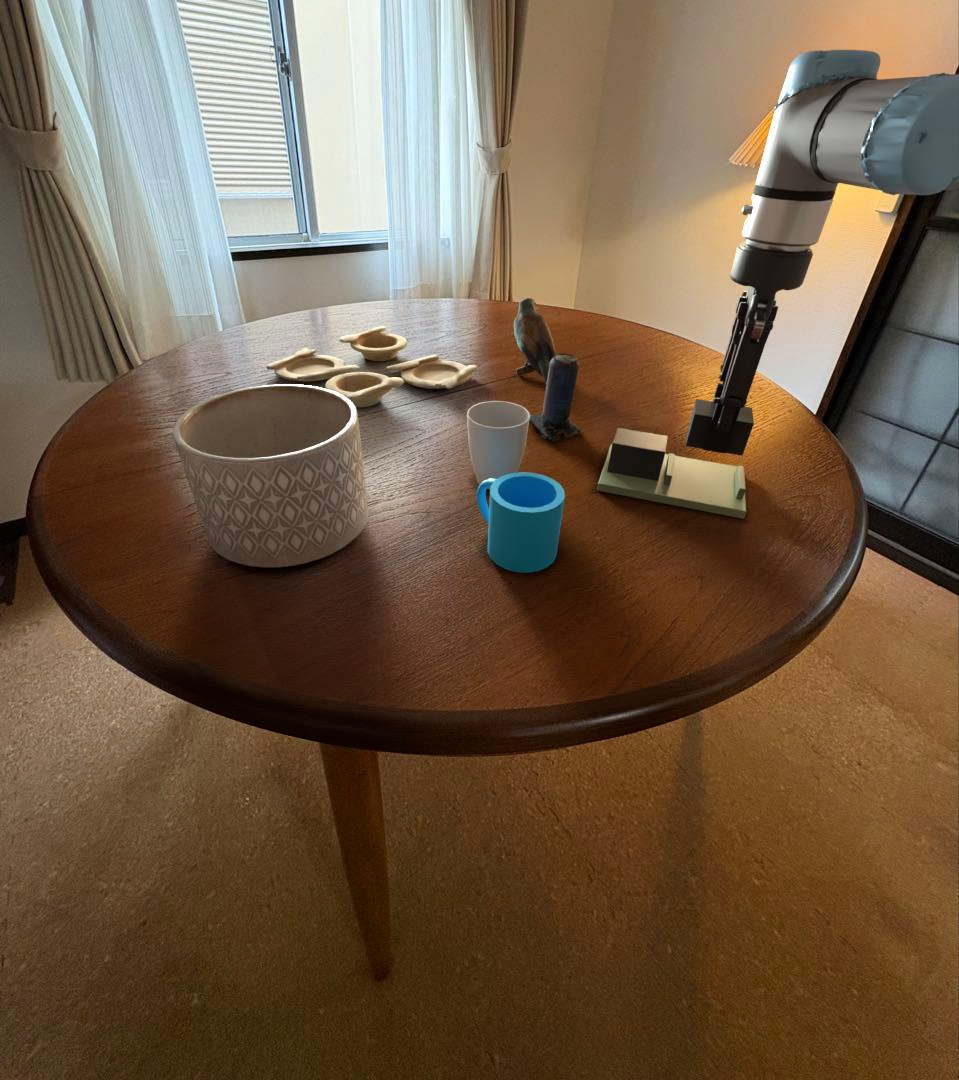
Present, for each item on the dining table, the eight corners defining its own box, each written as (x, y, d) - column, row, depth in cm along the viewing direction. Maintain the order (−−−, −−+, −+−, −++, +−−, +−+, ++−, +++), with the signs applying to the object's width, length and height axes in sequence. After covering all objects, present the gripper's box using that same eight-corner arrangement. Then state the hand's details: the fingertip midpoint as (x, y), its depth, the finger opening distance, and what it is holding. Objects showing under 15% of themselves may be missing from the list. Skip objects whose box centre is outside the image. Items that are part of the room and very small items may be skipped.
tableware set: (491, 381, 107) (492, 360, 104) (368, 429, 89) (365, 405, 87) (376, 337, 125) (375, 318, 123) (256, 370, 108) (251, 349, 106)
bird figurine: (585, 392, 102) (576, 277, 99) (533, 396, 100) (522, 279, 97) (561, 402, 115) (552, 301, 112) (514, 406, 113) (504, 304, 111)
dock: (740, 474, 81) (753, 439, 78) (743, 519, 72) (758, 481, 69) (609, 451, 86) (615, 416, 82) (596, 490, 77) (603, 453, 73)
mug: (571, 552, 66) (580, 494, 61) (521, 582, 61) (527, 522, 56) (501, 508, 73) (504, 452, 68) (452, 532, 68) (452, 474, 63)
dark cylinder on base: (587, 434, 90) (599, 360, 83) (549, 445, 87) (557, 369, 80) (552, 413, 96) (561, 342, 89) (516, 422, 93) (521, 350, 86)
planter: (400, 531, 68) (392, 422, 59) (254, 602, 58) (218, 483, 49) (319, 472, 79) (302, 372, 70) (184, 523, 68) (144, 413, 60)
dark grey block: (741, 438, 75) (752, 407, 72) (742, 456, 71) (754, 423, 68) (687, 429, 77) (695, 398, 74) (685, 446, 73) (694, 414, 70)
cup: (535, 487, 77) (542, 419, 71) (484, 502, 74) (487, 433, 68) (504, 461, 83) (508, 396, 76) (455, 474, 79) (455, 408, 73)
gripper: (737, 228, 67) (687, 409, 81) (742, 256, 54) (681, 468, 68) (805, 233, 65) (742, 417, 80) (828, 264, 52) (747, 479, 66)
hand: (714, 440), depth 74 cm, fingers closed on dark grey block, 5 cm apart
